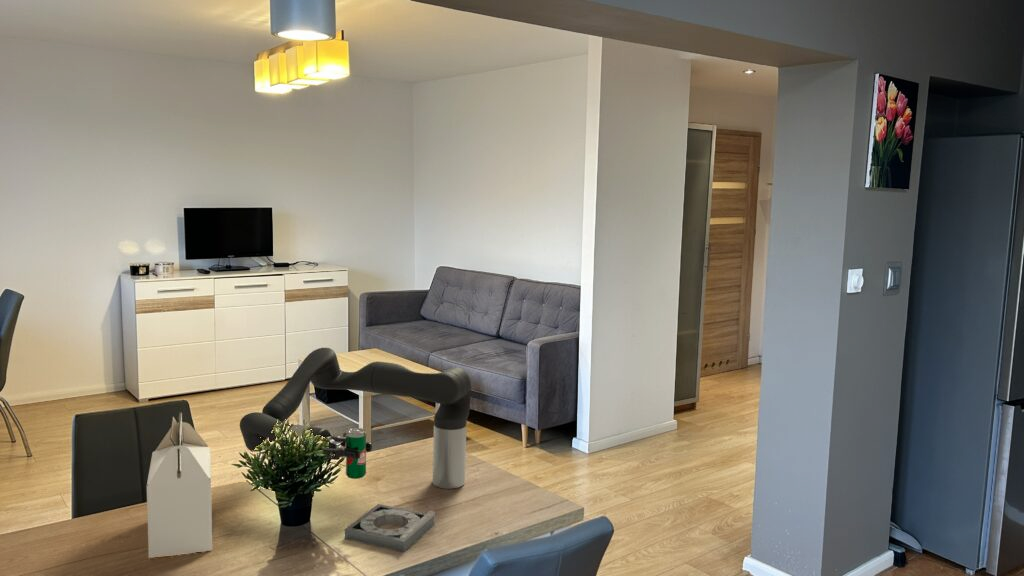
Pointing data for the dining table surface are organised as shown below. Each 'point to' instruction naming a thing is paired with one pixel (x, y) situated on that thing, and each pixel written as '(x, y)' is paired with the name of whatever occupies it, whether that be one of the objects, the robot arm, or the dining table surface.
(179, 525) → the gable box
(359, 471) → the soda can
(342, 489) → the dining table surface
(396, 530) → the jig
